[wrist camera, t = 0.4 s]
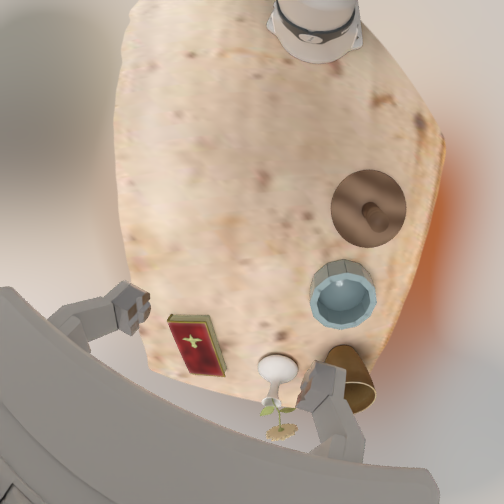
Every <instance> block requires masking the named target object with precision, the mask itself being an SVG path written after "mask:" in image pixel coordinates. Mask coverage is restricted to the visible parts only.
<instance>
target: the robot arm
mask: <svg viewBox="0 0 504 504" xmlns="http://www.w3.org/2000/svg"><path fill="white" fill-rule="evenodd" d="M273 7H275V8H274V10H273V12H272V14H271V16H270V18H269V20H268V22H267V29H268V30H269V31H270V32H271V33H273V34H274V35H276V36H277V38H278V39H279V41H280V43H281V45H282V46H283V47H284V49H285V50H286V51H287V52H288V53H290V54H291V55H292V56H294V57H296V58H298V59H300V60H302V61H305V62H309V63H317V64H320V63H329V62H332V61H335V60H337V59H339V58H341V57H342V56H343V55H344V54H346V53H347V52H349V51H352V50H356V49H359V48H361V47H362V44H363V40H362V30H361V21H360V14H359V6H358V0H276V1H275V2H274V5H273ZM356 37H357V38H358V39H356ZM149 299H150V293H148V292H146V291H145V290H143V289H141V288H139V287H137V286H135V285H133V284H131V283H129V282H128V281H126V280H123V281H121V282H120V283H119V284H118V285H117V286H116V287H114V288H113V289H112V290H111V291H110V292H109V293H108V294H107V295H105V296H104V297H97V298H93V299H89V300H85V301H80V302H76V303H73V304H68V305H64V306H62V307H61V308H59V309H58V310H57V311H56V312H55V313H54V314H53V315H52V316H50V317H49V318H48V319H45V318H44V317H43V316H42V315H41V314H40V313H39V312H38V311H37V310H35V309H34V308H33V307H32V306H31V305H30V304H29V303H28V302H27V301H26V300H25V299H24V298H22V296H21V295H20V294H19V293H18V292H17V291H16V290H15V289H14V288H12V287H9V286H8V287H0V504H439V501H440V491H439V488H438V486H437V484H436V482H435V480H434V479H433V477H432V475H431V474H430V472H429V471H428V470H427V469H425V468H408V467H391V466H380V465H371V464H363V456H364V449H365V437H364V435H363V433H362V431H361V429H360V427H359V425H358V423H357V421H356V419H355V417H354V415H353V412H352V410H351V408H350V406H349V404H348V402H347V400H345V399H344V390H345V381H346V369H343V368H340V367H336V366H334V365H330V364H327V363H324V362H320V361H317V360H315V361H313V363H312V364H311V369H309V370H307V372H306V374H305V376H304V378H303V380H302V383H301V387H300V388H301V393H300V394H299V395H298V398H297V402H296V406H295V408H298V409H301V410H305V411H308V412H311V413H312V416H313V419H314V423H315V426H316V429H317V432H318V436H319V439H320V442H321V444H320V445H319V446H317V447H316V448H314V449H313V450H311V451H310V452H309V453H304V452H300V451H296V450H293V449H289V448H285V447H282V446H278V445H275V444H272V443H268V442H265V441H262V440H259V439H256V438H253V437H250V436H247V435H244V434H242V433H239V432H236V431H233V430H231V429H228V428H226V427H223V426H221V425H218V424H216V423H214V422H211V421H209V420H207V419H204V418H202V417H200V416H198V415H195V414H193V413H191V412H189V411H187V410H184V409H183V408H180V407H178V406H176V405H174V404H172V403H170V402H169V401H167V400H165V399H163V398H161V397H159V396H157V395H155V394H153V393H152V392H150V391H148V390H146V389H144V388H143V387H141V386H139V385H138V384H136V383H134V382H132V381H131V380H129V379H128V378H126V377H124V376H123V375H121V374H119V373H118V372H116V371H114V370H113V369H111V368H110V367H109V366H107V365H106V364H104V363H103V362H101V361H100V360H98V359H97V358H95V357H94V356H93V355H91V354H90V353H91V349H90V346H89V344H88V342H89V341H92V340H95V339H97V338H99V337H102V336H104V335H107V334H109V333H112V332H114V331H116V330H118V329H119V330H121V331H123V332H124V333H126V334H128V335H130V336H132V335H133V334H134V333H135V332H136V331H137V330H138V328H139V323H143V322H145V320H146V319H147V318H148V316H149V314H150V310H151V305H150V303H149V302H148V300H149Z"/></svg>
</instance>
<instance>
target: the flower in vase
mask: <svg viewBox="0 0 504 504" xmlns="http://www.w3.org/2000/svg"><path fill="white" fill-rule="evenodd" d="M258 372H259V374H260V375H261V376H262V377H263V378H264V379H265V380H267V381H268V382H270V383H271V385H270V390H269V393H268V395H267V396H266V398H264V399H263V400H262V404H263V405H264V406H265V408H264V409H263V410H262V412H261V414H260V416H262V415H268V414H271V413H272V412H273V411H274V408H276V409H277V410H278V407H280V406H281V401H280V400H279V397H278V388H279V385H280V384H282V383H286V382H289V381H291V380H292V379H294V378H295V376H296V375H297V373H298V367H297V365H296V364H295V362H294V361H293V360H291V359H290V358H288V357H285V356H281V355H271V356H267V357H265V358H263V359H262V360H261V361H260V362H259V363H258ZM295 409H296V408H283V409H281V410H280V412H284V413H288V412H292V411H294V410H295ZM280 412H279V410H278V413H279V425H278V426H277V427H276V426H275V427H272V429H269V431H267V434H266V435H267V436H266V437H267V439H271V438H272V441H275V440H276V441H278V440H280V439H281V440H285V438H289V437H290V436H292V435H295V431H298V428H297V427H296V426H297V425H294V424H282V425H281V424H280Z"/></svg>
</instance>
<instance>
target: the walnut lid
mask: <svg viewBox="0 0 504 504" xmlns="http://www.w3.org/2000/svg"><path fill="white" fill-rule="evenodd" d="M331 215H332V220H333V223H334V225H335V228H336V229H337V231H338V233H339V234H340V235H341V236H342V237H343V238H344V239H345V240H346V241H348V242H349V243H351V244H353V245H356V246H359V247H365V248H371V247H377V246H380V245H383V244H385V243H387V242H388V241H390V240H391V239H392V238H394V237H395V236H396V234H397V233H398V232H399V231H400V229H401V227H402V225H403V223H404V220H405V216H406V201H405V197H404V194H403V192H402V190H401V188H400V186H399V185H398V184H397V183H396V182H395V181H394V180H393V179H392V178H391V177H389V176H388V175H386V174H384V173H381V172H379V171H374V170H363V171H359V172H356V173H353V174H351V175H350V176H348V177H347V178H345V179H344V180H343V181H342V182H341V183H340V184H339V186H338V187H337V189H336V191H335V193H334V195H333V198H332V203H331Z"/></svg>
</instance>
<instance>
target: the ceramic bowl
mask: <svg viewBox="0 0 504 504" xmlns="http://www.w3.org/2000/svg"><path fill="white" fill-rule="evenodd" d="M376 303H377V301H376V293H375V287H374V285H373V282H372V279H371V276H370V274H369V273H368V272H367V271H366V270H365V269H364V268H363V266H362V265H361V264H359V263H356V262H352V261H349V260H345V259H344V260H339V261H334V262H330V263H327V264H326V265H325V266H323V267H322V268H321V269H320V270H319V271H318V272H316V273H315V275H314V278H313V281H312V284H311V287H310V306H311V309H312V313H313V317H314V318H316V319H317V320H318V321H319V322H320V323H321V324H323V325H324V326H325V327H330V328H334V329H339V330H340V329H341V330H342V329H347V328H351V327H356V326H358V325H359V324H361V323H362V322H363V321H365V320H366V319H367V318H369V317H370V315H371V313H372V311H373V309H374V307H375V305H376Z"/></svg>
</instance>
